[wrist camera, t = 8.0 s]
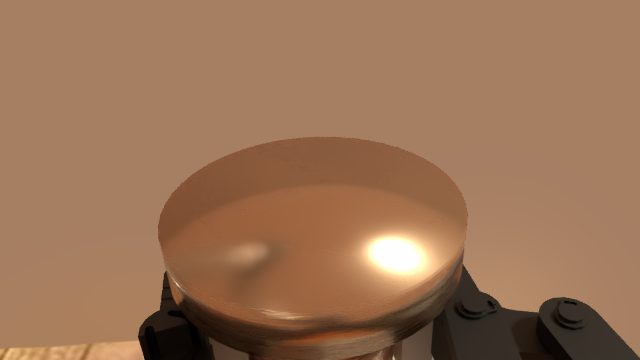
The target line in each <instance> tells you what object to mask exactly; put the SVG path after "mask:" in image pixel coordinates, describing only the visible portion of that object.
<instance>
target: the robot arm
mask: <svg viewBox="0 0 640 360" xmlns="http://www.w3.org/2000/svg"><path fill="white" fill-rule="evenodd" d="M138 338H139V342H140V345H141V348H142V352H143V355H144V359H145V360H250V354H247V353H244V352H240V351H237V350H234V349H232V348H230V347H228V346H225V345H223V344H221V343H219V342H217V341H215V340H213V339H212V338H210V337H209V336H207V335H205V334H204V333H202V332H201V331H200V330H199V329H197V328H196V327H195V326H194V325H193V324H192V323H191V322H189V321H188V319H187V318H186V317H185V316H184V314H183V313H182V312H181V311H180V309H179V307H178V306H177V304H176V302H175V300H174V298H173V295H172V291H171V288H170V284H169V280H168V276H167V271H166V272H165V273H164V280H163V290H162V297H161V305H160V310H159V311H157V312H155V313H153V314H152V315H151V316H149V317H148V318H147V319H146V320H145V321H144V323H143V324H142V325H141V327H140V329H139V335H138ZM393 356H394V358H395V360H432V356H433V359H434V360H640V358H639V357H638V356H637V355H636V353H635V352H634V351H633V350H632V349H631V348H630V347H629V346H628V345H627V344H626V343H625V342H624V341H623V340H622V339H621V337H620V336H619V335H618V334H617V333H616V332H615V331H614V330H613V329H612V328H611V327H610V326H609V325H608V324H607V322H606V321H605V320H604V319H603V318H602V317H601V316H600V315H599V314H598V313H597V312H596V311H595V310H594V309H592V308H591V307H590V306H588V305H587V304H585V303H583V302H580V301H578V300H575V299H570V298H565V297H562V298H552V299H549V300H547V301H545V302H544V303H543V304H542V305H541V307H540V310H539V313H537V312H526V311H516V310H510V309H506V308H502V307H501V306H500V304H499V302H498V301H497V300H496V299H494V298H493V297H492V296H490V295H488V294H486V293H483V292H480V291H479V290H478V288H477V286H476V285H475V283H474V281H473V280H472V278H471V276H470V275H469V273H468V271H467V270H466V268H465V267H464V265H463V266H462V274H461V278H460V281H459V285H458V288H457V289H456V291H455V293H454V295H453V297H452V299H451V300H450V302H449V303H448V304H447V306H446V307H445V308H444V309H443V311H442V312H441V313H440V314H439V315H438V316H437V317H436V318H435V319H433V320H432V321H431V322H430V323H429V324H428V325H426V326H425V327H424V328H422V329H421V330H419V331H418V332H416V333H415V334H413V335H412V336H410V337H408V338H406V339H404V340H402V341H400V342H398V343H396V344H394V345H393Z"/></svg>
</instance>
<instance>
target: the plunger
mask: <svg viewBox="0 0 640 360" xmlns="http://www.w3.org/2000/svg"><path fill="white" fill-rule="evenodd" d="M467 216H468V214H467V208H466V203H465V201H464V198H463V196H462V193H461V192H460V190H459V189H458V187H457V186H456V184H455V183H454V182H453V181H452V180H451V179H450V177H449V176H448V175H447V174H446V173H444V172H443V171H442V170H441V169H439V168H438V167H437V166H435V165H434V164H432V163H430V162H429V161H427V160H425V159H424V158H422V157H419V156H417V155H415V154H413V153H411V152H408V151H405V150H403V149H400V148H397V147H393V146H390V145H386V144H383V143H378V142H373V141H368V140H360V139H354V138H340V137H309V138H296V139H288V140H281V141H275V142H270V143H266V144H261V145H257V146H253V147H250V148H247V149H243V150H240V151H238V152H235V153H232V154H229V155H227V156H225V157H223V158H221V159H218V160H216V161H214V162H212V163H210V164H209V165H207V166H205V167H203V168H202V169H200V170H199V171H197V172H196V173H194V174H193V175H191V176H190V177H189V178H188V179H187V180H185V181H184V182H183V183H182V184H181V185H180V186H179V187H178V188H177V189H176V190H175V191H174V192H173V193H172V195H171V197H170V198H169V199H168V201H167V202H166V204H165V206H164V208H163V210H162V213H161V215H160V220H159V225H158V238H159V242H160V246H161V250H162V254H163V259H164V263H165V267H166V271H167V276H168V280H169V284H170V288H171V291H172V295H173V298H174V300H175V302H176V304H177V306H178V307H179V309H180V311H181V312H182V313H183V314H184V316H185V317H186V318H187V319H188V321H189V322H191V323H192V324H193V325H194V326H195V327H196V328H197V329H199V330H200V331H201V332H202V333H204V334H205V335H207V336H209V337H210V338H212V339H213V340H215V341H217V342H219V343H221V344H223V345H225V346H228V347H230V348H232V349H234V350H237V351H240V352H244V353H247V354H250V360H393V345H394V344H396V343H398V342H400V341H402V340H404V339H406V338H408V337H410V336H412V335H413V334H415V333H416V332H418V331H419V330H421V329H422V328H424V327H425V326H426V325H428V324H429V323H430V322H431V321H432V320H433V319H435V318H436V317H437V316H438V315H439V314H440V313H441V312H442V311H443V309H444V308H445V307H446V306H447V304H448V303H449V302H450V300H451V299H452V297H453V295H454V293H455V291H456V289H457V288H458V285H459V281H460V278H461V274H462V266H463V257H464V247H465V238H466V229H467V228H466V227H467Z"/></svg>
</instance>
